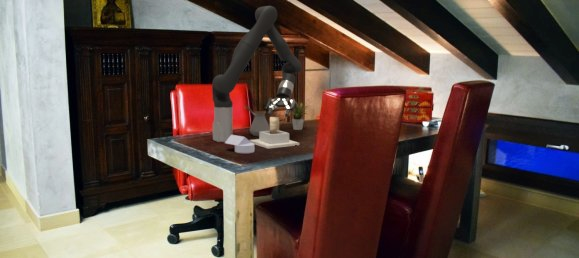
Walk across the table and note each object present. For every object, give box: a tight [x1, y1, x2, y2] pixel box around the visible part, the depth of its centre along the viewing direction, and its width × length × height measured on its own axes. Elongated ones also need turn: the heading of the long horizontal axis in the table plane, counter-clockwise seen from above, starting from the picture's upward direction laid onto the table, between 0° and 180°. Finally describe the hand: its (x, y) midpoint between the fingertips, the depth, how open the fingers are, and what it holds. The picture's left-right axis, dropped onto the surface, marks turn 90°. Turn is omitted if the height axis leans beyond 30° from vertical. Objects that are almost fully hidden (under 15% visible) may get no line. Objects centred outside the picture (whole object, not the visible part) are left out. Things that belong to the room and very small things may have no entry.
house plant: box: [289, 102, 310, 131], centre depth 290 cm, size 14×14×16 cm
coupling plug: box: [269, 116, 280, 134], centre depth 245 cm, size 6×5×12 cm
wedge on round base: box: [224, 134, 256, 154], centre depth 228 cm, size 9×7×13 cm
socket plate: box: [248, 130, 300, 150], centre depth 246 cm, size 18×18×6 cm
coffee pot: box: [244, 105, 270, 137], centre depth 273 cm, size 21×12×15 cm, turn 37°
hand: (277, 115), depth 249 cm, fingers open, 8 cm apart
